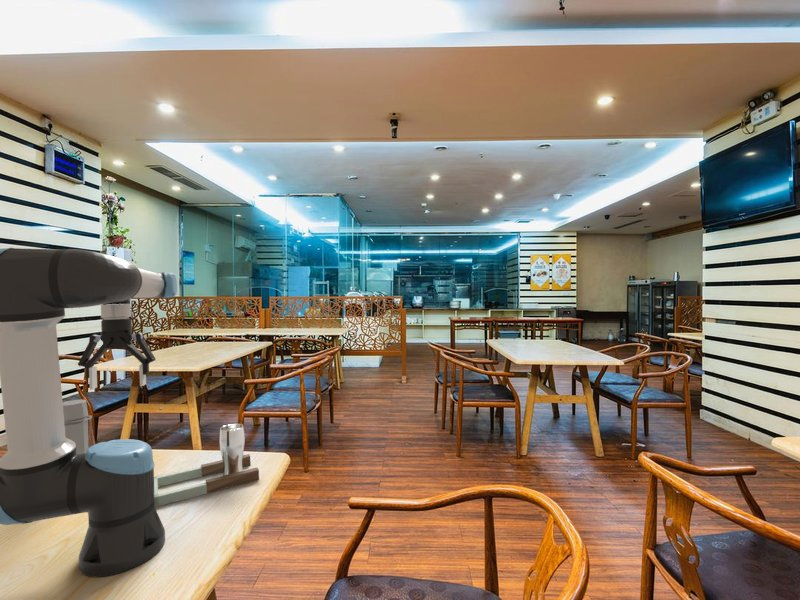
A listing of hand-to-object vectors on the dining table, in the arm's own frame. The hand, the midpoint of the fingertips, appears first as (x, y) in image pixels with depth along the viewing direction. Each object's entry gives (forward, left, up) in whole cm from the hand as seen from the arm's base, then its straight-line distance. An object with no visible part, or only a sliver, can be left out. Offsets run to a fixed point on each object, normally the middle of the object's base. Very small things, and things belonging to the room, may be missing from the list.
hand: (118, 386), depth 123 cm
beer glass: (-22, -29, -28) cm, 45 cm away
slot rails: (-22, -28, -27) cm, 45 cm away
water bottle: (-3, +10, -28) cm, 29 cm away
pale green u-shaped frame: (-22, -14, -27) cm, 38 cm away
